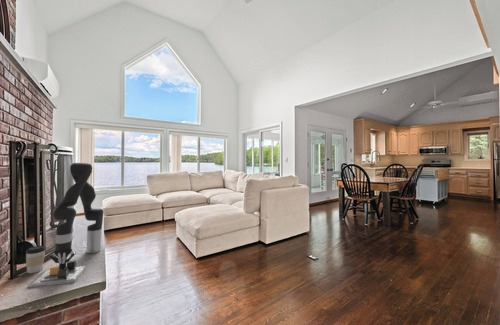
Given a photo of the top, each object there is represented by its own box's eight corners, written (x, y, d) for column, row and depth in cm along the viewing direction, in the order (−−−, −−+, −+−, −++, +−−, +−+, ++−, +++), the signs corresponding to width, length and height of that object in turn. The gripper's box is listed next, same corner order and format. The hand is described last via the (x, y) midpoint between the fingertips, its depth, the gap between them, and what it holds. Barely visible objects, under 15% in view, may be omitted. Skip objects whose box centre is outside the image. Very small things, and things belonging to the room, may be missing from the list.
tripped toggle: (51, 273, 130) (52, 265, 130) (59, 272, 132) (60, 264, 132) (49, 275, 128) (49, 267, 128) (57, 274, 129) (58, 266, 129)
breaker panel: (44, 272, 135) (44, 262, 135) (85, 268, 142) (86, 258, 142) (27, 287, 120) (27, 275, 119) (74, 282, 127) (75, 270, 127)
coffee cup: (46, 269, 139) (48, 246, 139) (27, 275, 131) (28, 251, 131) (41, 265, 143) (42, 243, 143) (22, 271, 135) (23, 247, 135)
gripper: (79, 237, 137) (78, 264, 137) (53, 239, 132) (52, 267, 132) (74, 242, 130) (72, 270, 130) (46, 243, 125) (45, 273, 125)
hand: (62, 268), depth 131 cm, fingers closed
